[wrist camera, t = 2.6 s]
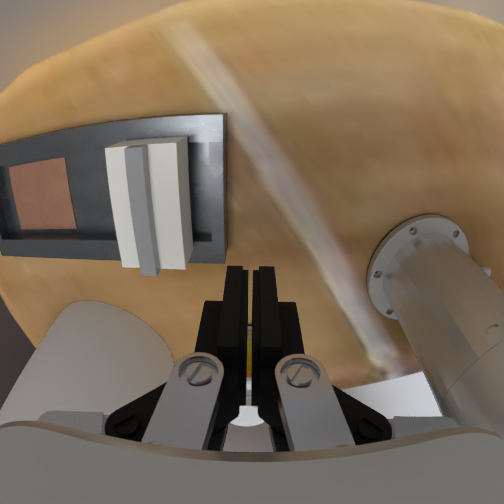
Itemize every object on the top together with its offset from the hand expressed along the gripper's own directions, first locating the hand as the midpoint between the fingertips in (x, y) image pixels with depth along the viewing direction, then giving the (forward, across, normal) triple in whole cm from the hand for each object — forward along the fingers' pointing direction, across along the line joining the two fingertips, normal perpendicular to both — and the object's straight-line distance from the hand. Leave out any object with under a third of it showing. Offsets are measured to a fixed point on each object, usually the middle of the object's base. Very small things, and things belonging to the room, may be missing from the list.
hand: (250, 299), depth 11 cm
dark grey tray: (+16, +15, 0) cm, 22 cm away
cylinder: (+16, +18, +22) cm, 33 cm away
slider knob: (+14, +7, 0) cm, 16 cm away
